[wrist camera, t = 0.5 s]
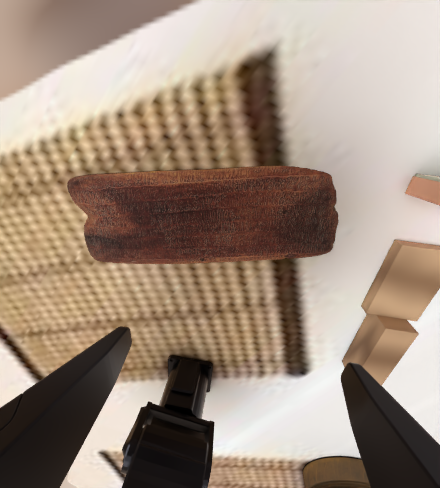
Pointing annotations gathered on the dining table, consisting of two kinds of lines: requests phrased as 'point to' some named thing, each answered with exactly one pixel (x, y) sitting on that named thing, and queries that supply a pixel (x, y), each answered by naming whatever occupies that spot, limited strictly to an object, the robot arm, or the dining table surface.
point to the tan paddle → (395, 307)
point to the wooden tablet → (207, 214)
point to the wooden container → (335, 473)
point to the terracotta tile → (425, 188)
